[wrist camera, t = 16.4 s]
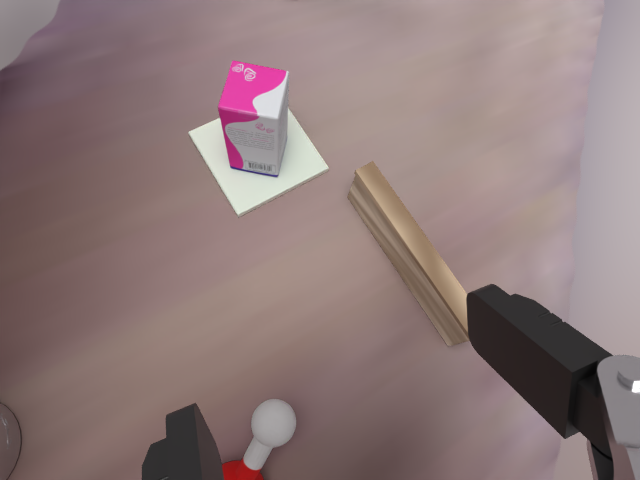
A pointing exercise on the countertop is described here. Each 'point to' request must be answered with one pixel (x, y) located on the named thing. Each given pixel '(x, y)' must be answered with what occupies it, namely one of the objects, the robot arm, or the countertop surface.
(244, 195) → the mat
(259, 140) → the supplement box
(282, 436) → the molecular model
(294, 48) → the countertop surface
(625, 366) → the robot arm
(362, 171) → the wooden plank offcut
